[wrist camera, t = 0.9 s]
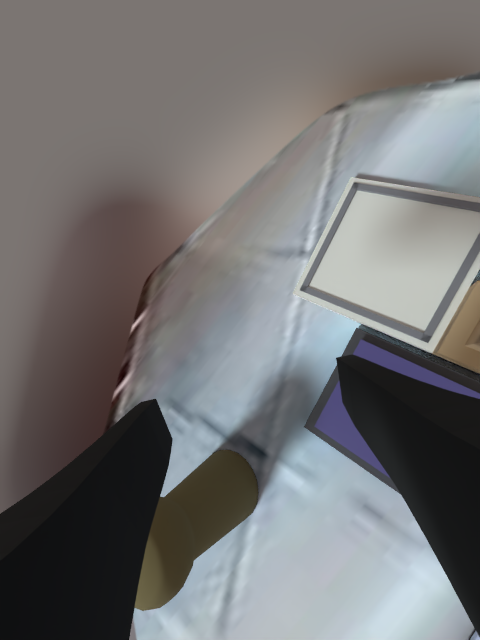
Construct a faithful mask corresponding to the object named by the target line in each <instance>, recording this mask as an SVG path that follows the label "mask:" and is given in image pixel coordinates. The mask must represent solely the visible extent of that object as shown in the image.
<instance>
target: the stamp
mask: <svg viewBox="0 0 480 640" xmlns="http://www.w3.org/2000/svg"><path fill="white" fill-rule="evenodd" d="M430 354H433V355H435V356H437V357H440V358H442V359H444V360H447V361H449V362H451V363H454V364H456V365H458V366H461V367H463V368H465V369H468V370H470V371H472V372H475V373H477V374H479V375H480V281H479V280H478V281H477V282H475V283H474V284H473V285H472V286H470V287H469V289H468V291H467V293H466V294H465V296H464V298H463V300H462V301H461V303H460V305H459V307H458V308H457V310H456V312H455V314H454V316H453V317H452V319H451V321H450V323H449V324H448V326H447V328H446V330H445V331H444V333H443V335H442V337H441V339H440V340H439V342H438V344H437V346H436V347H435V349H434V351H433V353H430Z"/></svg>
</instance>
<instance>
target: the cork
mask: <svg viewBox="0 0 480 640" xmlns="http://www.w3.org/2000/svg"><path fill="white" fill-rule="evenodd" d="M257 500H258V485H257V479H256V477H255V474H254V472H253V469H252V468H251V466H250V465H249V464H248V462H247V461H246V459H244V458H243V457H242V456H241V455H239V454H238V453H236V452H233V451H231V450H219V451H217V452H215V453H213V454H212V455H211V456H210V457H209V458H207V459H206V460H205V461H204V462H203V463H202V464H201V465H200V466H199V467H197V468H196V469H195V470H194V471H193V472H192V473H191V474H190V475H189V476H187V477H186V478H185V479H184V480H183V481H182V482H181V483H180V484H178V485H177V486H176V487H175V488H174V489H173V490H172V491H171V492H170V493H168V494H167V495H166V496H165V497H160V498H159V501H158V505H157V508H156V512H155V515H154V519H153V522H152V526H151V529H150V533H149V537H148V541H147V545H146V549H145V554H144V559H143V564H142V569H141V574H140V579H139V584H138V590H137V596H136V601H135V607H134V608H137V609H140V610H142V611H144V610H151V609H156V608H160V607H162V606H163V605H165V604H166V603H168V602H169V601H170V600H171V599H172V598H173V597H174V596H175V595H176V594H177V593H178V592H179V591H180V589H181V588H182V587H183V585H184V583H185V581H186V579H187V577H188V575H189V573H190V571H191V569H192V566H193V561H194V560H195V559H196V558H197V557H199V556H200V555H201V554H202V553H204V552H205V551H206V550H207V549H209V548H210V547H211V546H212V545H214V544H215V543H216V542H217V541H219V540H220V539H221V538H222V537H224V536H225V535H226V534H227V533H229V532H230V531H231V530H232V529H234V528H235V527H236V526H237V525H239V524H240V523H241V522H242V521H244V520H245V519H246V518H247V517H248V516H249V515H251V514H252V513H253V511H254V509H255V507H256V504H257Z"/></svg>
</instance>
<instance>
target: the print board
mask: <svg viewBox="0 0 480 640" xmlns="http://www.w3.org/2000/svg"><path fill="white" fill-rule="evenodd" d="M479 270H480V197H475V196H468V195H462V194H456V193H449V192H443V191H436V190H430V189H423V188H417V187H410V186H404V185H398V184H391V183H385V182H378V181H372V180H365V179H359V178H352V177H351V178H350V180H349V182H348V184H347V186H346V188H345V190H344V192H343V194H342V196H341V198H340V200H339V202H338V204H337V206H336V208H335V210H334V212H333V214H332V216H331V218H330V220H329V222H328V224H327V226H326V228H325V230H324V232H323V234H322V236H321V238H320V240H319V242H318V244H317V246H316V248H315V250H314V252H313V254H312V256H311V258H310V260H309V262H308V264H307V266H306V268H305V270H304V272H303V274H302V276H301V278H300V280H299V282H298V284H297V286H296V288H295V290H294V292H293V294H294V295H295V296H297V297H300V298H302V299H304V300H307V301H309V302H311V303H314V304H316V305H318V306H321V307H323V308H325V309H328V310H330V311H332V312H335V313H337V314H339V315H342V316H344V317H346V318H349V319H351V320H353V321H356V322H358V323H360V324H363V325H365V326H367V327H370V328H372V329H374V330H377V331H379V332H381V333H384V334H386V335H388V336H391V337H393V338H395V339H398V340H400V341H402V342H405V343H407V344H409V345H412V346H414V347H416V348H419V349H421V350H423V351H426V352H428V353H433V351H434V349H435V347H436V346H437V344H438V342H439V340H440V339H441V337H442V335H443V333H444V331H445V330H446V328H447V326H448V324H449V323H450V321H451V319H452V317H453V316H454V314H455V312H456V310H457V308H458V307H459V305H460V303H461V301H462V300H463V298H464V296H465V294H466V293H467V291H468V289H469V287H470V285H471V284H472V282H473V280H474V278H475V277H476V275H477V273H478V271H479Z"/></svg>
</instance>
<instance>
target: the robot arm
mask: <svg viewBox="0 0 480 640" xmlns="http://www.w3.org/2000/svg"><path fill="white" fill-rule="evenodd" d="M336 360H337V367H338V374H339V381H340V389H341V396H342V403H343V405H344V406H345V408H346V410H347V412H348V414H349V416H350V418H351V420H352V422H353V424H354V426H355V427H356V429H357V430H358V432H359V433H360V435H361V436H362V438H363V439H364V440H365V442H366V443H367V445H368V446H369V448H370V449H371V451H372V452H373V454H374V455H375V456H376V458H377V459H378V461H379V462H380V464H381V465H382V467H383V468H384V469H385V471H386V472H387V474H388V475H389V477H390V478H391V480H392V481H393V482H394V484H395V486H396V487H397V489H398V490H399V492H400V493H401V495H402V497H403V498H404V500H405V502H406V503H407V505H408V507H409V509H410V510H411V512H412V514H413V516H414V517H415V519H416V521H417V523H418V524H419V526H420V528H421V530H422V531H423V533H424V535H425V537H426V539H427V540H428V542H429V544H430V546H431V548H432V549H433V551H434V553H435V555H436V557H437V559H438V560H439V562H440V564H441V566H442V568H443V569H444V571H445V573H446V575H447V577H448V579H449V581H450V582H451V584H452V586H453V588H454V590H455V592H456V594H457V596H458V597H459V599H460V601H461V603H462V605H463V607H464V609H465V611H466V613H467V614H468V616H469V618H470V620H471V622H472V624H473V626H474V628H475V629H476V631H475V633H474V634H473V636H472V637H471V639H470V640H480V399H478V398H474V397H471V396H467V395H464V394H460V393H456V392H453V391H450V390H446V389H443V388H440V387H437V386H434V385H431V384H428V383H425V382H422V381H419V380H417V379H414V378H411V377H408V376H406V375H403V374H401V373H398V372H396V371H393V370H391V369H388V368H386V367H383V366H381V365H378V364H376V363H374V362H371V361H369V360H366V359H364V358H361V357H359V356H356V355H353V354H351V355H347V356H342V357H338V358H336ZM171 446H172V437H171V434H170V432H169V430H168V427H167V425H166V422H165V420H164V417H163V415H162V412H161V410H160V408H159V405H158V403H157V400H156V399H153V400H148V401H144V402H141V403H139V404H138V405H137V406H135V407H134V408H133V409H132V410H130V411H129V412H128V413H127V414H126V415H125V416H124V417H122V418H121V419H120V420H119V421H118V422H117V423H116V424H115V425H113V426H112V427H111V428H110V429H109V430H108V431H107V432H106V433H105V434H103V435H102V436H101V437H100V438H99V439H98V440H97V441H96V442H94V443H93V444H92V445H91V446H90V447H88V448H87V449H86V450H85V451H84V452H83V453H81V454H80V455H79V456H78V457H77V458H75V459H74V460H73V461H72V462H71V463H70V464H68V465H67V466H66V467H65V468H63V469H62V470H61V471H60V472H58V473H57V474H56V475H54V476H53V477H52V478H50V479H49V480H48V481H46V482H45V483H44V484H42V485H41V486H40V487H38V488H37V489H36V490H34V491H33V492H32V493H30V494H29V495H27V496H26V497H25V498H23V499H22V500H20V501H19V502H17V503H16V504H14V505H13V506H11V507H10V508H8V509H7V510H5V511H4V512H2V513H1V514H0V640H129V636H130V629H131V624H132V619H133V613H134V607H135V601H136V596H137V590H138V584H139V579H140V574H141V569H142V564H143V559H144V554H145V549H146V545H147V541H148V537H149V533H150V529H151V526H152V522H153V519H154V515H155V512H156V508H157V505H158V501H159V498H160V494H161V491H162V487H163V484H164V480H165V477H166V473H167V469H168V466H169V460H170V454H171Z"/></svg>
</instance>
